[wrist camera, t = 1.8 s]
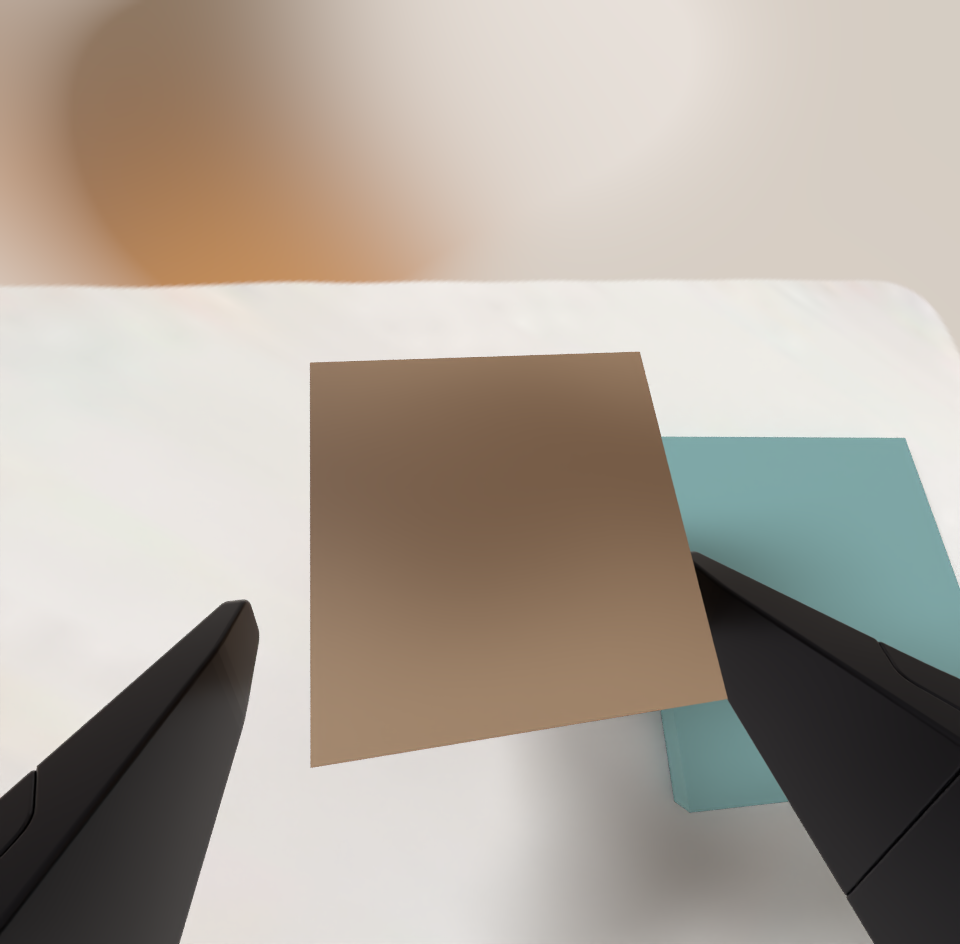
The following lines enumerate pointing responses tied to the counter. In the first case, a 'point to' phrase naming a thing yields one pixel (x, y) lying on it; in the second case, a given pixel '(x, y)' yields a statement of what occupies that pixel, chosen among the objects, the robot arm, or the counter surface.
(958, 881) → the robot arm
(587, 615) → the walnut pillar
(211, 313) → the counter surface
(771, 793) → the teal board
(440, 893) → the counter surface
